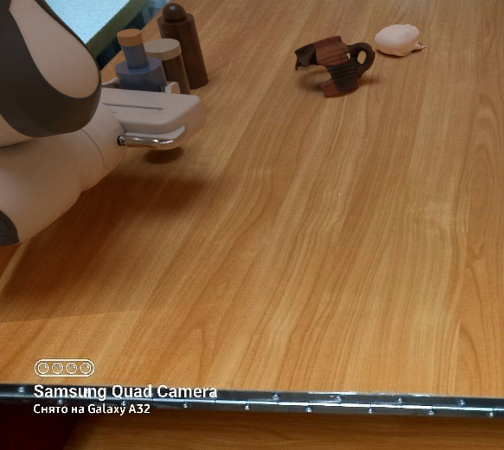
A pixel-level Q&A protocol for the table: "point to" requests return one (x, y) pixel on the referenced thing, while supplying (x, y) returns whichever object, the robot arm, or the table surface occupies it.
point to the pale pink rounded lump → (398, 39)
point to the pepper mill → (184, 41)
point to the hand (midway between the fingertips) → (148, 85)
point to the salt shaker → (170, 61)
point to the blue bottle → (138, 64)
